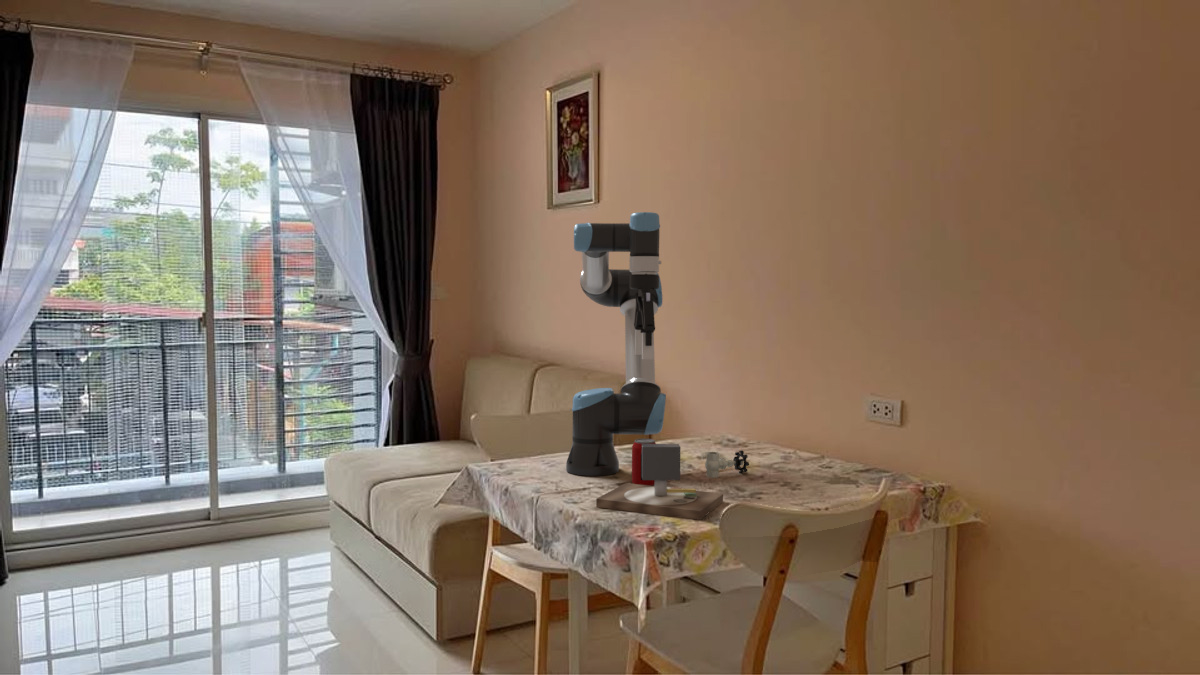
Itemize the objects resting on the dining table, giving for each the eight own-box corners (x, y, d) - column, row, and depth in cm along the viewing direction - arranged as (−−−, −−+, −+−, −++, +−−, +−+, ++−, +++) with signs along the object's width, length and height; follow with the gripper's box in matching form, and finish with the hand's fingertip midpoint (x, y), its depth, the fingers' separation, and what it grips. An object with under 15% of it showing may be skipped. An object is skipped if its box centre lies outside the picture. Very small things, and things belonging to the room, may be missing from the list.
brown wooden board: (596, 506, 205) (596, 496, 204) (625, 490, 221) (625, 481, 221) (700, 519, 194) (700, 508, 194) (723, 501, 210) (723, 491, 210)
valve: (712, 479, 234) (749, 475, 239) (712, 455, 234) (749, 452, 239) (699, 474, 240) (735, 471, 245) (700, 451, 240) (736, 448, 245)
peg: (642, 496, 205) (642, 447, 204) (641, 492, 209) (641, 443, 208) (696, 496, 205) (697, 447, 205) (694, 492, 209) (694, 443, 209)
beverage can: (649, 489, 223) (649, 443, 222) (627, 485, 226) (627, 441, 225) (661, 484, 228) (662, 439, 228) (639, 481, 232) (639, 437, 231)
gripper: (667, 273, 206) (666, 361, 207) (651, 274, 230) (651, 352, 232) (636, 272, 205) (635, 361, 206) (624, 274, 230) (623, 352, 231)
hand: (643, 356), depth 219 cm, fingers open, 13 cm apart
